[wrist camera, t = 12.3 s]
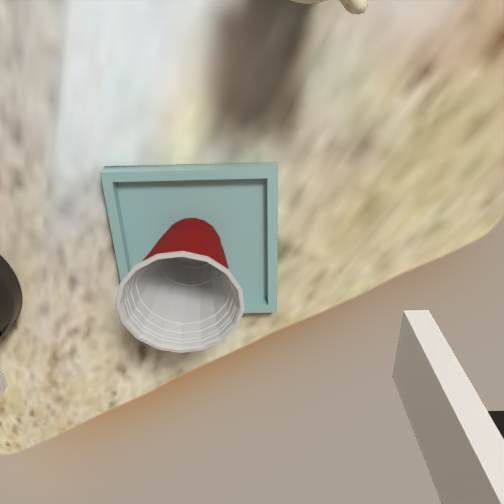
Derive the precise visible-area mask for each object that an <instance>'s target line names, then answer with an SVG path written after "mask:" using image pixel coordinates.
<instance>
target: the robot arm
mask: <svg viewBox="0 0 504 504" xmlns="http://www.w3.org/2000/svg"><path fill="white" fill-rule="evenodd" d="M21 305H22V293H21V288H20V285H19V282H18V279H17V277H16V275H15V273H14V272H13V270H12V268H11V267H10V266H9V264H8V263H7V262H6V261H5V260H4V259H3V257H2V256H1V255H0V338H1V337H2V336H3V335H5V333H6V332H7V331H8V330H9V328H10V327H11V326H12V324H13V323H14V321H15V320H16V319H17V317H18V315H19V313H20V309H21ZM393 379H394V382H395V384H396V387H397V389H398V392H399V395H400V397H401V400H402V402H403V405H404V408H405V410H406V412H407V415H408V418H409V420H410V423H411V425H412V428H413V431H414V433H415V436H416V438H417V441H418V443H419V446H420V449H421V451H422V454H423V457H424V459H425V461H426V464H427V467H428V469H429V472H430V475H431V477H432V480H433V482H434V485H435V488H436V490H437V493H438V495H439V498H440V500H441V503H442V504H504V411H487V410H486V408H485V406H484V405H483V403H482V401H481V400H480V398H479V396H478V394H477V393H476V391H475V389H474V388H473V386H472V384H471V382H470V381H469V379H468V377H467V376H466V374H465V372H464V370H463V369H462V367H461V365H460V364H459V362H458V361H457V359H456V357H455V355H454V353H453V352H452V350H451V348H450V346H449V345H448V343H447V341H446V340H445V338H444V336H443V335H442V333H441V331H440V330H439V328H438V326H437V324H436V323H435V321H434V319H433V317H432V316H431V314H430V312H429V311H428V310H413V311H412V310H410V311H404V312H403V318H402V323H401V329H400V335H399V341H398V347H397V353H396V359H395V365H394V371H393ZM6 387H7V383H6V381H5V378H4V375H3V373H2V370H1V367H0V397H1V395H2V394H3V392H4V391H5V389H6Z"/></svg>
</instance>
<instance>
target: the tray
mask: <svg viewBox="0 0 504 504" xmlns="http://www.w3.org/2000/svg"><path fill="white" fill-rule="evenodd" d="M100 175H101V180H102V186H103V191H104V196H105V202H106V207H107V212H108V218H109V223H110V228H111V233H112V239H113V244H114V249H115V255H116V260H117V265H118V271H119V276H120V281H121V282H122V280H123V279H124V278H125V277H126V276H127V274H128V273H129V272H130V271H131V269H132V268H133V267H134V266H135V265H136V264H138V263H140V262H142V260H143V259H144V258H145V257H146V256H147V254H149V252H150V251H151V250H152V248H153V247H154V246H155V244H156V243H157V242H158V240H159V239H160V238H161V237H162V236H163V234H164V233H165V232H167V230H168V229H169V228H170V227H171V225H172V224H174V223H176V222H178V221H180V220H182V219H184V218H197V219H201V220H205V221H206V222H207V223H209V224H210V225H212V226H213V227H214V229H215V230H216V232H217V233H218V235H219V237H220V240H221V245H222V247H223V249H224V253H225V256H226V260H227V264H228V268H229V271H230V272H231V274H232V275H233V276H234V278H235V279H236V281H237V282H238V284H239V285H240V287H241V288H242V291H243V298H244V306H245V310H244V313H276V312H277V219H278V166H277V162H266V163H225V164H183V165H142V166H105V167H104V168H103V169H102V171H101V172H100Z"/></svg>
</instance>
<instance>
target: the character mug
mask: <svg viewBox="0 0 504 504" xmlns="http://www.w3.org/2000/svg"><path fill="white" fill-rule="evenodd" d="M291 1H294V2H297V3H303V4H315V3H319V2H322V1H325V0H291ZM340 2H341V3H342V5H343V6H344V8H345V9H346V10H347V11H348V12H350V13H352V14H361V13H364V12H365V10H366V8H367V5H368V4H367V0H340Z"/></svg>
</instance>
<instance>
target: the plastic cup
mask: <svg viewBox="0 0 504 504" xmlns="http://www.w3.org/2000/svg"><path fill="white" fill-rule="evenodd" d="M116 307H117V310H118V313H119V316H120V319H121V322H122V324H123V325H124V326H125V327H126V328H127V329H128V330H129V331H130V332H131V333H132V334H133V336H134V337H135V338H136V339H138V340H140V341H142V342H144V343H146V344H148V345H150V346H152V347H154V348H156V349H159V350H165V351H171V352H177V353H185V352H194V351H203V350H205V349H208V348H210V347H212V346H214V345H217V344H219V343H221V342H223V341H224V340H225V339H227V338H228V337H229V336H230V335H231V334H232V333H233V332H234V331H235V330H236V329H237V328H238V326H239V323H240V321H241V318H242V315H243V313H244V310H245V306H244V298H243V291H242V288H241V287H240V285H239V284H238V282H237V281H236V279H235V278H234V276H233V275H232V274H231V272H230V271H229V268H228V264H227V260H226V256H225V253H224V249H223V247H222V245H221V240H220V237H219V235H218V233H217V232H216V230H215V229H214V227H213V226H212V225H210V224H209V223H207V222H206V221H205V220H201V219H197V218H184V219H182V220H180V221H178V222H176V223H174V224H172V225H171V227H170V228H169V229H168V230H167V232H165V233H164V234H163V236H162V237H161V238H160V239H159V240H158V242H157V243H156V244H155V246H154V247H153V248H152V250H151V251H150V252H149V254H147V256H146V257H145V258H144V259H143V260H142V262H140V263H138V264H136V265H135V266H134V267H133V268H132V269H131V271H130V272H129V273H128V274H127V276H126V277H125V278H124V279H123V280H122V282H121V283H120V284H119V289H118V294H117V300H116Z"/></svg>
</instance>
